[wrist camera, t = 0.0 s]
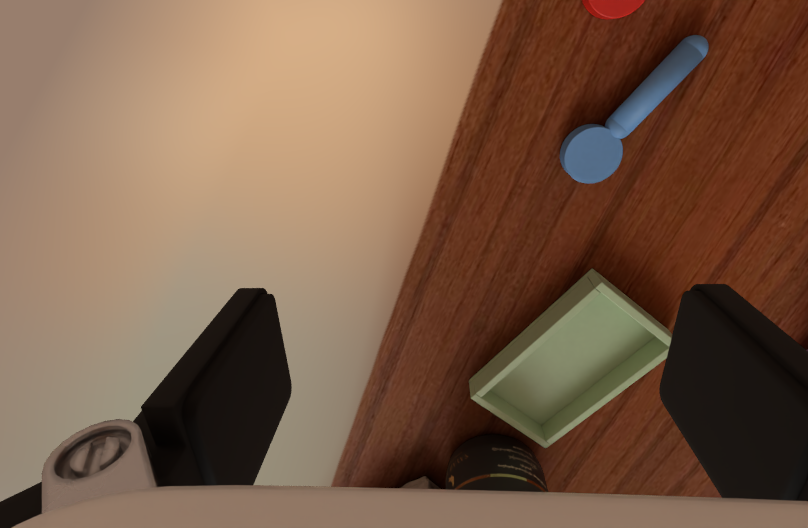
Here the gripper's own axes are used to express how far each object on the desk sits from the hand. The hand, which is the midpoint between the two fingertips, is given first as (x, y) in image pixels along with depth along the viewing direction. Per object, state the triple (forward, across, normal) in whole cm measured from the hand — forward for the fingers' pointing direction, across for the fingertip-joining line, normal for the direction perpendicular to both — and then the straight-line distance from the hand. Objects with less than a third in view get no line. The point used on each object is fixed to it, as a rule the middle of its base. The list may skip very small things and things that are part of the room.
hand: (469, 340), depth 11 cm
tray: (+26, -10, +20) cm, 34 cm away
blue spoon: (+26, -13, -2) cm, 29 cm away
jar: (+26, -4, +33) cm, 42 cm away
